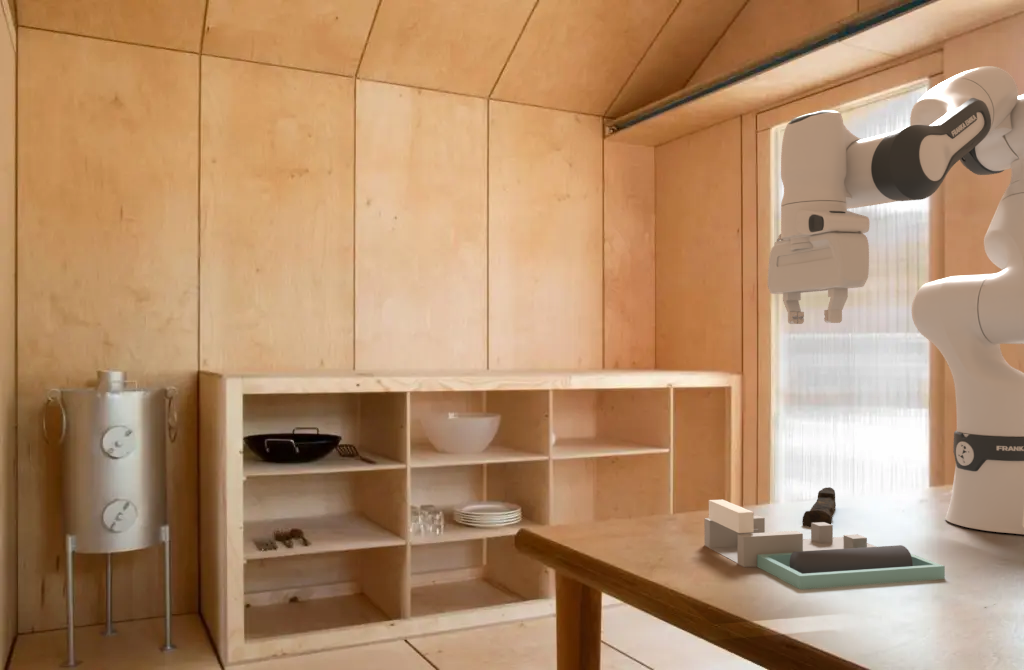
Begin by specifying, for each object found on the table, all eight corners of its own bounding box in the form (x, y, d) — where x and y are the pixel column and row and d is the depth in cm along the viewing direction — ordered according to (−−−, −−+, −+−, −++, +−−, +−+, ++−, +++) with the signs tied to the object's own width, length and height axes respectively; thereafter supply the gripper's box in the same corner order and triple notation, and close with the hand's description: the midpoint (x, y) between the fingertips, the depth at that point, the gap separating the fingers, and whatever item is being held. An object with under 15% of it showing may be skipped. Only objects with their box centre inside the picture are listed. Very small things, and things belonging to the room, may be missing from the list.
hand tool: (830, 538, 125) (830, 506, 125) (802, 535, 127) (802, 504, 127) (847, 515, 142) (847, 487, 142) (822, 512, 144) (822, 485, 144)
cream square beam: (722, 518, 115) (722, 499, 115) (753, 532, 106) (753, 512, 106) (708, 518, 114) (708, 500, 114) (738, 533, 106) (738, 512, 106)
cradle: (849, 545, 120) (849, 510, 120) (901, 565, 109) (901, 527, 109) (704, 554, 115) (704, 518, 115) (743, 576, 105) (743, 537, 105)
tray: (891, 566, 109) (891, 546, 109) (944, 588, 100) (944, 566, 100) (757, 575, 105) (757, 554, 105) (800, 599, 95) (799, 576, 95)
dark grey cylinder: (891, 564, 105) (896, 539, 104) (909, 581, 102) (915, 555, 101) (787, 571, 102) (792, 545, 101) (802, 588, 99) (807, 562, 98)
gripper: (757, 234, 131) (757, 324, 131) (834, 215, 111) (835, 322, 111) (794, 235, 133) (794, 324, 133) (877, 217, 113) (878, 322, 113)
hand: (813, 323), depth 122 cm, fingers open, 8 cm apart
